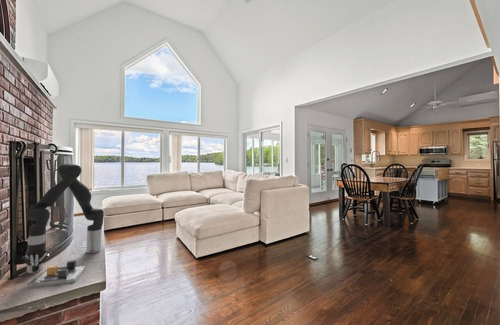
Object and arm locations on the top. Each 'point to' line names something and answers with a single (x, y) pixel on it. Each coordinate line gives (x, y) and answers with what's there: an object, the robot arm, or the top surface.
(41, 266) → the coffee cup
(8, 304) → the top surface
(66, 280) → the breaker panel
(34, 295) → the top surface
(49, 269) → the toggle
